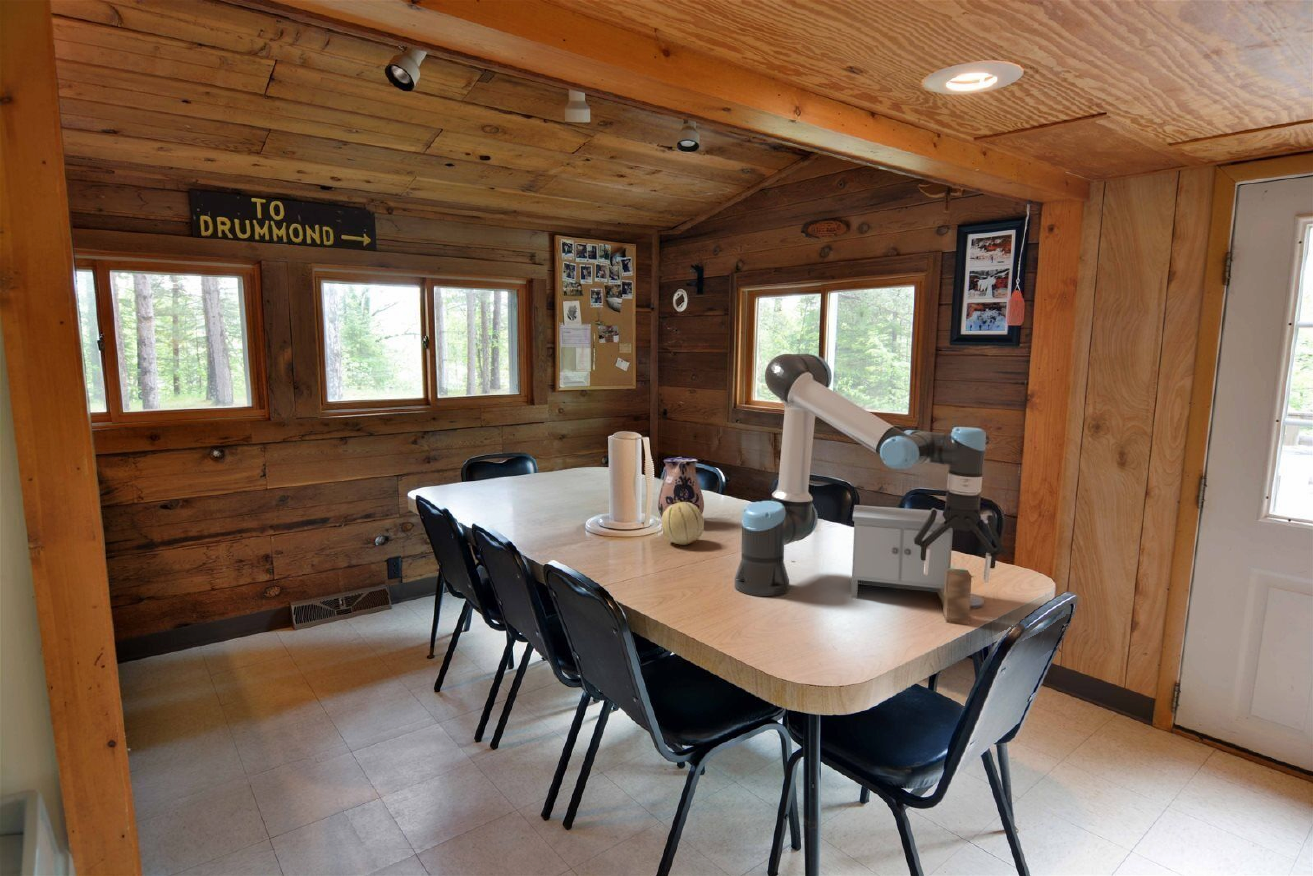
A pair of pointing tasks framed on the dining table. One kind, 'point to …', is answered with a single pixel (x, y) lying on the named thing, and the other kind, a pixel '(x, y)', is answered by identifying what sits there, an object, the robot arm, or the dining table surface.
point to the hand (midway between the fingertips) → (955, 577)
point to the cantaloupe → (682, 523)
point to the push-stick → (956, 596)
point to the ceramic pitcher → (680, 484)
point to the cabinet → (897, 549)
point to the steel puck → (976, 601)
